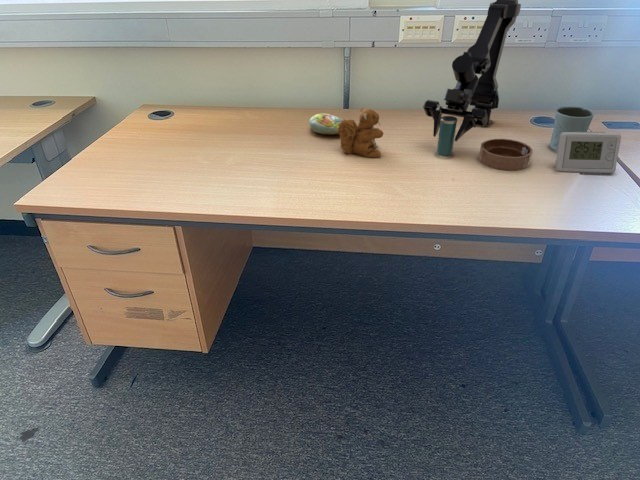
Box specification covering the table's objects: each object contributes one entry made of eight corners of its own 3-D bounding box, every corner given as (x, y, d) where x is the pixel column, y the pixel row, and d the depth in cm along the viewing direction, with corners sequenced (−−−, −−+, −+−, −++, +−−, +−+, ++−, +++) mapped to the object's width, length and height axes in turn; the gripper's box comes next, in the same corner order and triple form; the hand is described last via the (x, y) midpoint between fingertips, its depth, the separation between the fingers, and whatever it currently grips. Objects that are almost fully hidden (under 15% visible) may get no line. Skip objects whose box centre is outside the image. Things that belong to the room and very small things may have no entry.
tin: (445, 151, 143) (451, 114, 137) (455, 156, 139) (461, 119, 133) (432, 153, 142) (437, 117, 135) (441, 159, 138) (447, 122, 131)
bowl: (488, 148, 144) (491, 135, 141) (535, 159, 136) (539, 145, 134) (470, 164, 134) (473, 150, 132) (519, 176, 127) (523, 162, 125)
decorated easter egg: (329, 114, 166) (351, 110, 153) (329, 136, 167) (351, 134, 154) (302, 113, 161) (322, 108, 148) (302, 136, 162) (322, 133, 149)
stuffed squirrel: (382, 157, 140) (385, 115, 132) (336, 157, 140) (336, 115, 133) (381, 145, 148) (383, 104, 140) (337, 145, 149) (337, 104, 141)
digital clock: (552, 173, 129) (562, 137, 123) (549, 160, 136) (558, 125, 130) (616, 180, 124) (630, 143, 118) (610, 166, 131) (623, 130, 126)
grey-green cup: (586, 148, 142) (598, 110, 136) (575, 158, 136) (587, 119, 130) (553, 140, 148) (563, 103, 141) (541, 150, 142) (551, 112, 135)
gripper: (429, 72, 135) (409, 119, 134) (492, 81, 126) (471, 131, 125) (436, 92, 145) (418, 136, 143) (495, 102, 136) (476, 149, 134)
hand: (444, 138), depth 136 cm, fingers open, 6 cm apart
